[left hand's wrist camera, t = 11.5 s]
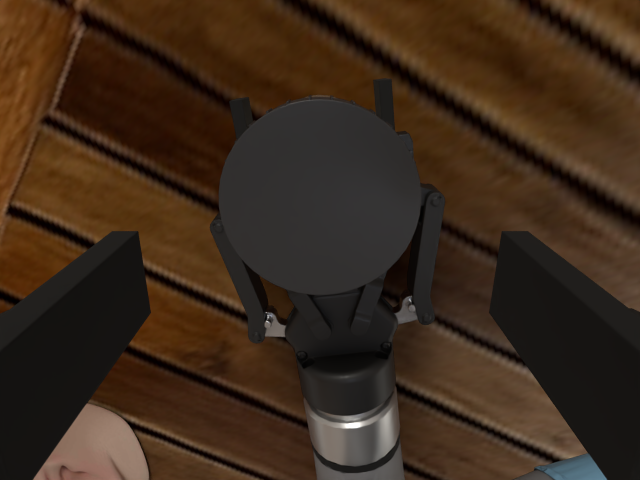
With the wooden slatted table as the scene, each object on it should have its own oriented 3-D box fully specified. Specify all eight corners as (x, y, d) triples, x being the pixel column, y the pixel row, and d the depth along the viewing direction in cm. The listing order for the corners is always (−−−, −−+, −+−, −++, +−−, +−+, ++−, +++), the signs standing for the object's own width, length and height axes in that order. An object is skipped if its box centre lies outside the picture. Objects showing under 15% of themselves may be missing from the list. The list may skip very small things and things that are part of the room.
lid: (430, 107, 21) (442, 111, 19) (395, 285, 24) (402, 305, 22) (230, 83, 20) (220, 84, 18) (223, 268, 24) (214, 286, 22)
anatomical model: (-9, 427, 40) (118, 428, 40) (19, 397, 43) (136, 397, 43) (25, 531, 44) (139, 531, 44) (48, 495, 48) (153, 496, 48)
